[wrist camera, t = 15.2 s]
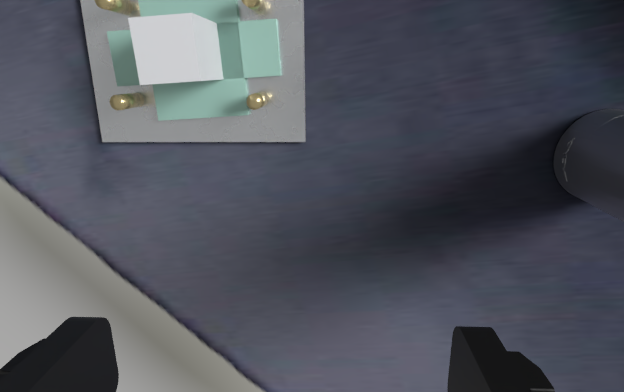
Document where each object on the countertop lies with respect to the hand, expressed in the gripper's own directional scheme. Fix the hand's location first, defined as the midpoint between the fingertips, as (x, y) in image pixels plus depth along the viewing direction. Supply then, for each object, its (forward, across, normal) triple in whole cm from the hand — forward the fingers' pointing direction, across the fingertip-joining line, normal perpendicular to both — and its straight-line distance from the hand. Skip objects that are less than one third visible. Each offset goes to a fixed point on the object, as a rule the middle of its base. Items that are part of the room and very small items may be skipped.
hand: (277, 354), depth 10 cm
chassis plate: (+34, +12, -8) cm, 37 cm away
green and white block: (+33, +12, -8) cm, 36 cm away
